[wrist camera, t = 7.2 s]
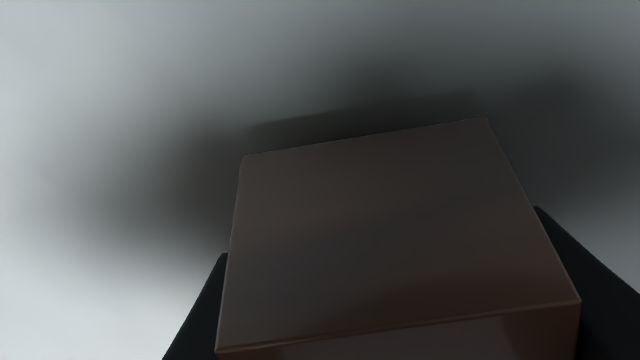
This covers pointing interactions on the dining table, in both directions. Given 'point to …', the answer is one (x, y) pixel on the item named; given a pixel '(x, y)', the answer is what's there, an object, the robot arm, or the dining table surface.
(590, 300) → the robot arm
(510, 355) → the block
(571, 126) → the dining table surface
